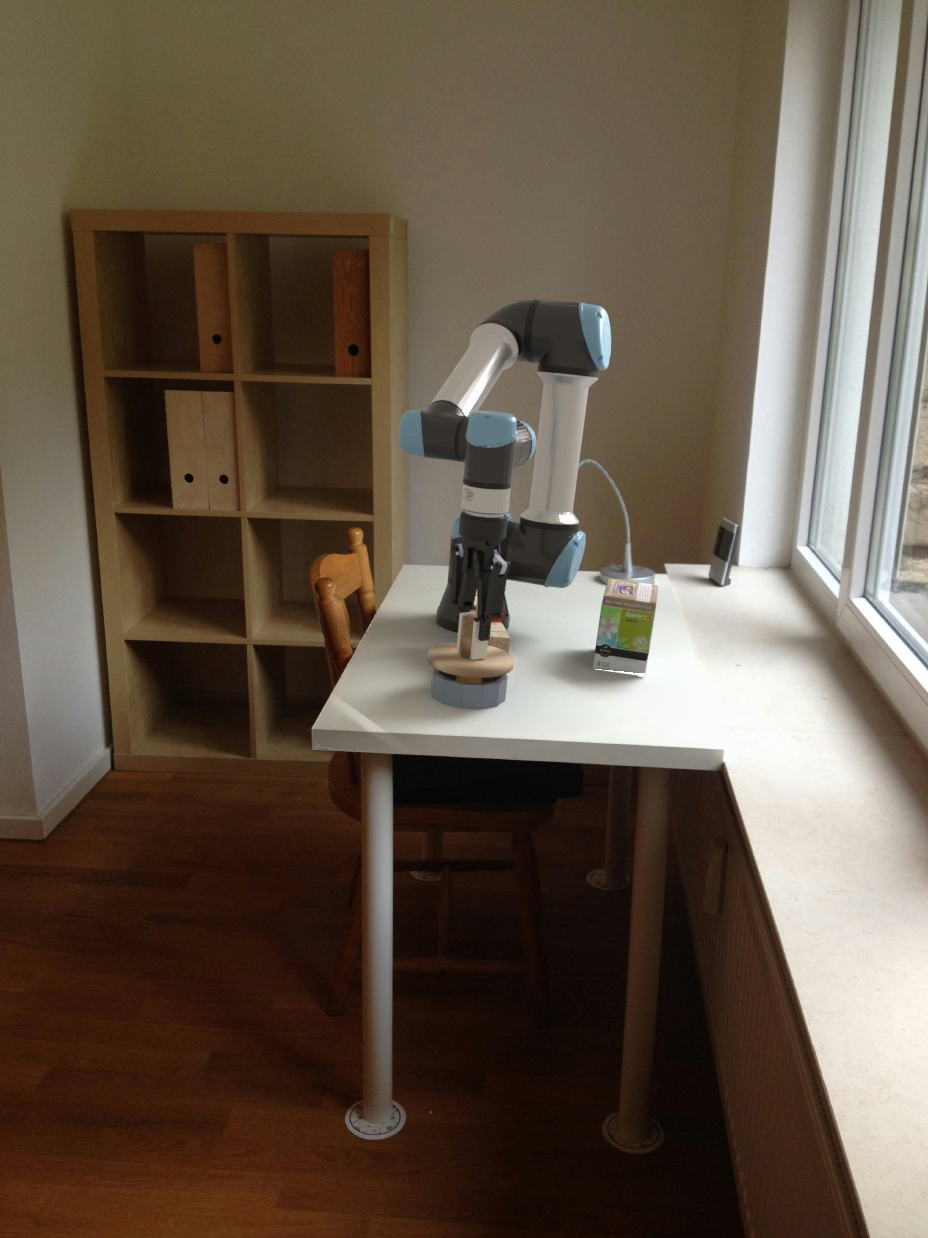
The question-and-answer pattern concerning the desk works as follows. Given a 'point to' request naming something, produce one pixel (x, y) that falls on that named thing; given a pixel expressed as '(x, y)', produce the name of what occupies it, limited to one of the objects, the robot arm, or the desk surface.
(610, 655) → the tea box
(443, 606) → the robot arm
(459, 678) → the clementine
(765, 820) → the desk surface
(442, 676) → the bowl
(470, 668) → the lid
